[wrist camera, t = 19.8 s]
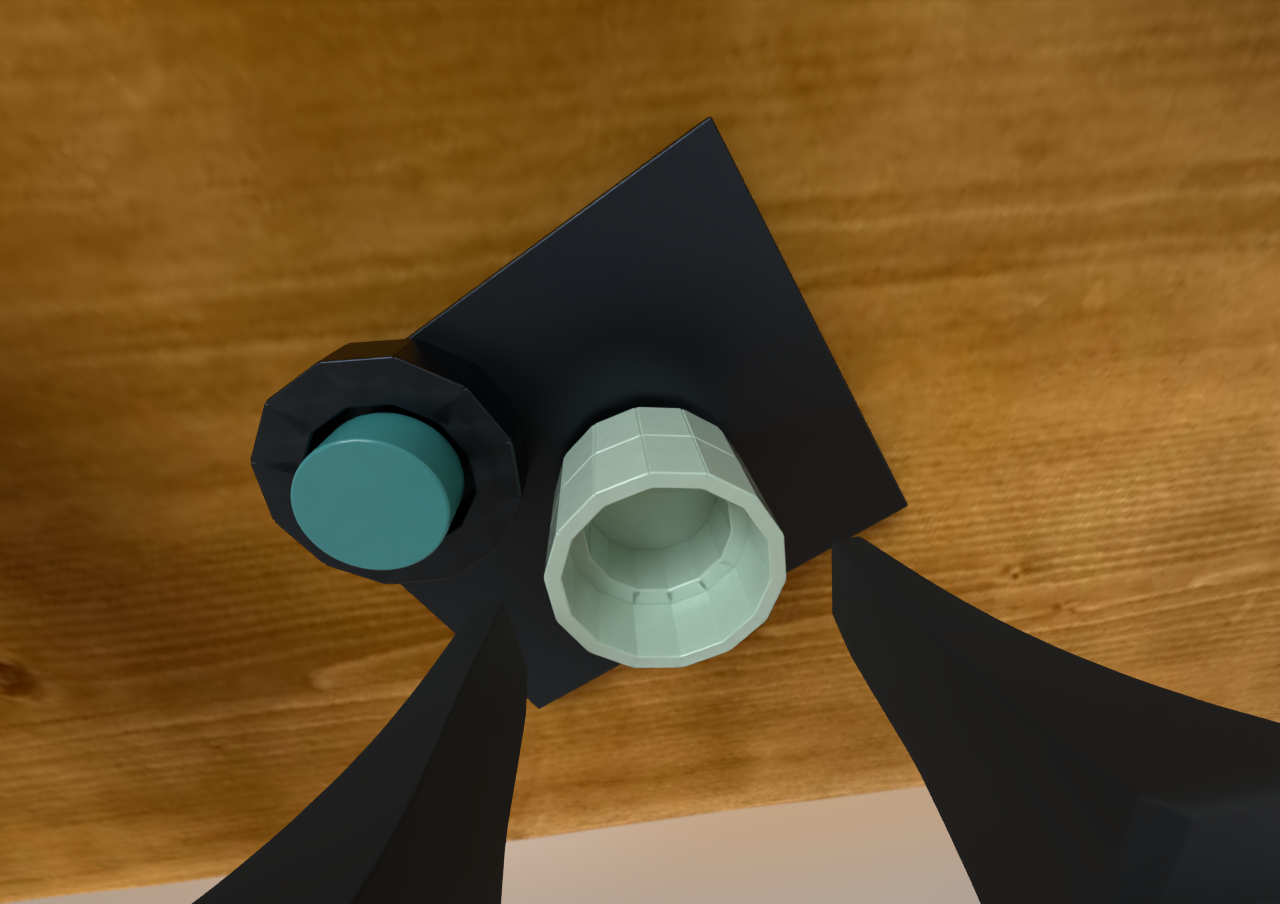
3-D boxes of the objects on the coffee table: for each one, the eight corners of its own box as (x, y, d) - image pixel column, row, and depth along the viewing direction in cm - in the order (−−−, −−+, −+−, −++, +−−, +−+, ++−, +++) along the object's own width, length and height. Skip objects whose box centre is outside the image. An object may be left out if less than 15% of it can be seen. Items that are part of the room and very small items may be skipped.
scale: (541, 684, 22) (534, 754, 19) (254, 415, 16) (186, 459, 14) (891, 488, 19) (940, 537, 16) (686, 91, 14) (710, 66, 11)
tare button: (392, 554, 16) (370, 594, 14) (291, 460, 14) (253, 494, 13) (493, 488, 15) (481, 524, 13) (397, 383, 14) (371, 409, 12)
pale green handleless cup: (579, 577, 18) (575, 687, 14) (537, 417, 16) (518, 496, 12) (746, 546, 18) (791, 648, 14) (731, 382, 16) (780, 449, 12)
